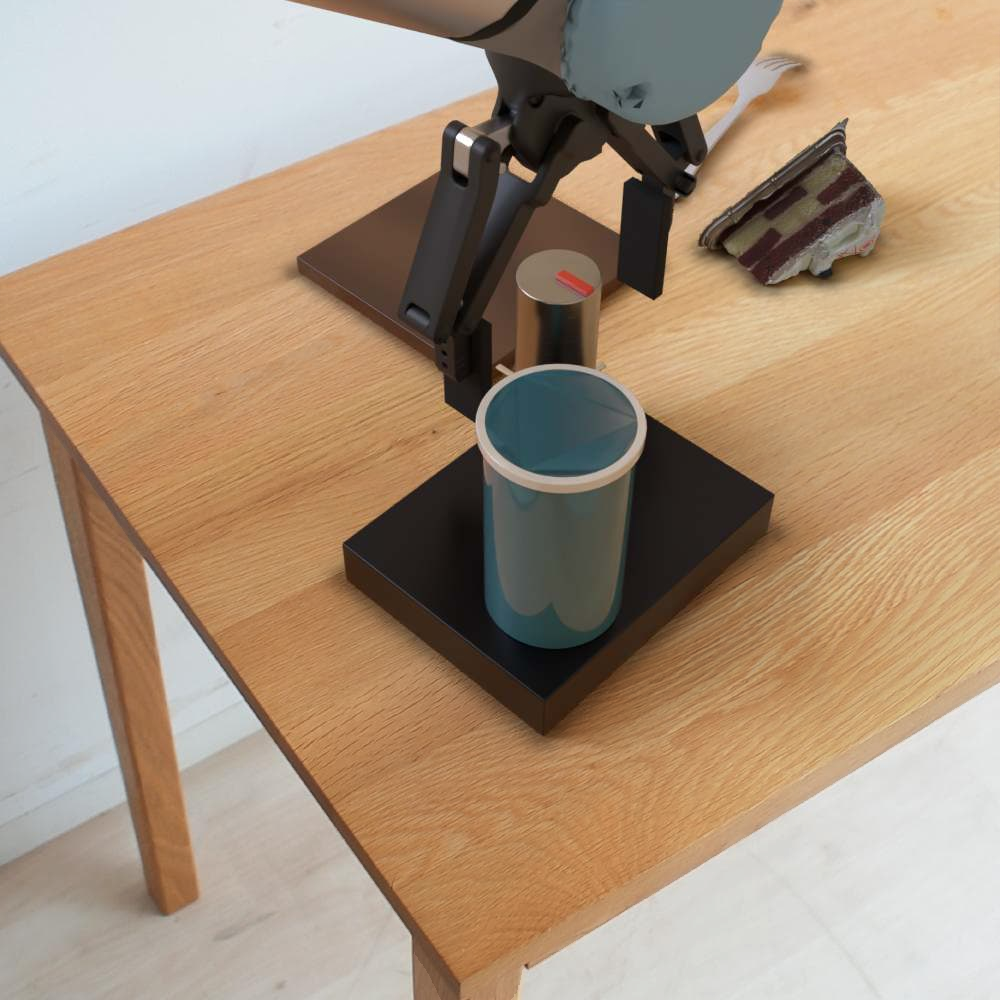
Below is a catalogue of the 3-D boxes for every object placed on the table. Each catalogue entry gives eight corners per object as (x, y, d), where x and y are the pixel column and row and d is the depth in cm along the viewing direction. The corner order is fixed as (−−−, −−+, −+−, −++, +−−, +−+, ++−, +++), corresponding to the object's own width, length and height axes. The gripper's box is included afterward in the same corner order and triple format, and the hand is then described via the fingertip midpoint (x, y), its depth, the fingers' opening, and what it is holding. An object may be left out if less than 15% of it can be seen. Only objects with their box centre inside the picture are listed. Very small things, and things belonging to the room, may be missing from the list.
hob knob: (497, 403, 80) (497, 272, 73) (551, 364, 82) (556, 233, 75) (556, 443, 78) (562, 311, 71) (609, 401, 80) (620, 270, 73)
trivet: (476, 390, 85) (476, 376, 84) (297, 271, 93) (295, 256, 92) (649, 266, 93) (651, 251, 92) (472, 165, 100) (471, 150, 99)
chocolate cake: (756, 321, 90) (906, 182, 86) (687, 240, 92) (831, 101, 88) (799, 337, 98) (938, 212, 94) (735, 263, 101) (868, 137, 96)
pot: (558, 681, 68) (567, 512, 59) (447, 595, 71) (439, 423, 62) (658, 591, 71) (682, 419, 62) (548, 514, 75) (555, 340, 66)
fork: (637, 219, 100) (638, 188, 98) (774, 55, 110) (778, 24, 108) (673, 233, 99) (675, 202, 97) (808, 66, 109) (812, 35, 107)
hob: (542, 737, 69) (544, 700, 67) (304, 546, 77) (297, 507, 75) (782, 518, 79) (791, 478, 76) (547, 368, 87) (548, 328, 84)
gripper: (423, 131, 54) (441, 509, 69) (815, -99, 66) (755, 268, 81) (290, 56, 57) (336, 432, 73) (686, -149, 69) (652, 212, 85)
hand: (557, 347), depth 77 cm, fingers open, 13 cm apart
